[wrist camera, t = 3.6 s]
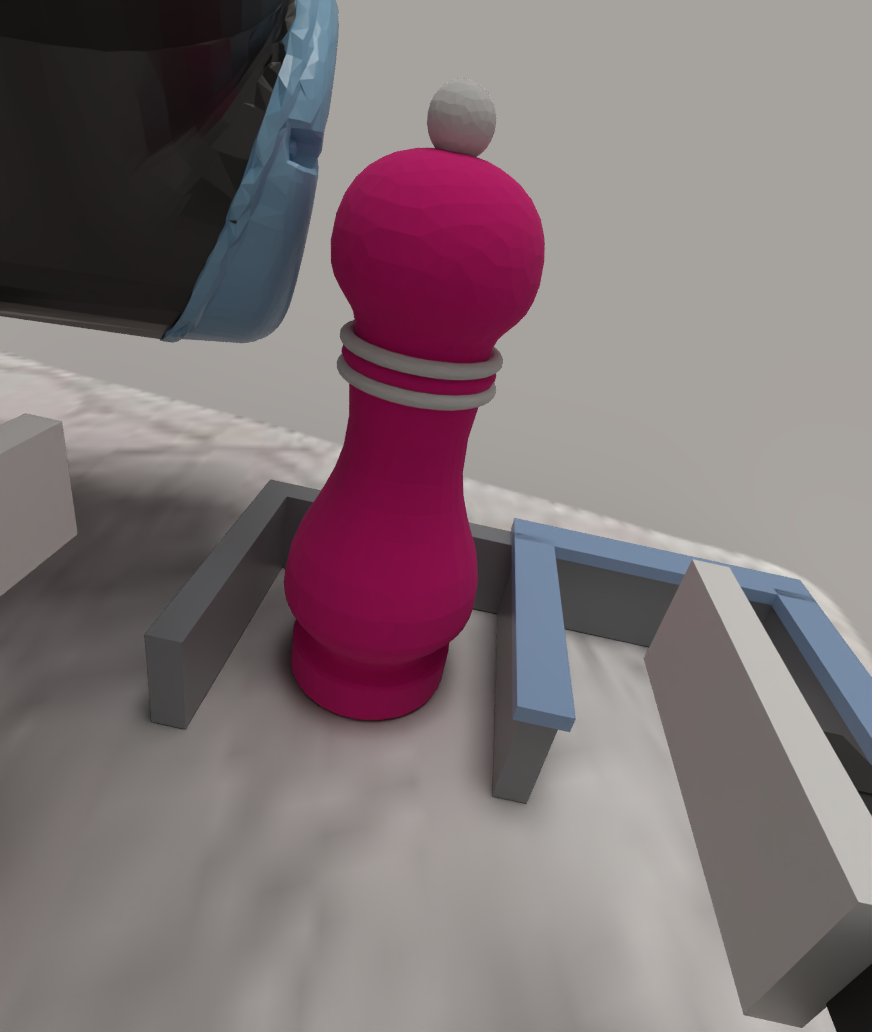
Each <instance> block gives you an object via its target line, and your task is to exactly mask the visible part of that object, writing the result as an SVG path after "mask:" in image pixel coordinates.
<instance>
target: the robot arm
mask: <svg viewBox="0 0 872 1032" xmlns="http://www.w3.org/2000/svg"><path fill="white" fill-rule="evenodd" d="M338 27H339V24H338V6H337V3H336V0H0V316H4V317H10V318H18V319H24V320H32V321H38V322H45V323H52V324H59V325H66V326H73V327H81V328H87V329H94V330H101V331H108V332H114V333H121V334H129V335H136V336H142V337H149V338H156V339H160V340H161V341H166V342H177V341H179V340H181V339H191V340H205V341H219V342H233V343H248V342H253V341H256V340H259V339H262V338H264V337H266V336H268V335H269V334H271V333H272V332H273V331H274V330H275V329H276V328H278V326H279V325H280V324H281V322H282V321H283V319H284V317H285V315H286V313H287V311H288V308H289V306H290V302H291V299H292V296H293V293H294V289H295V285H296V282H297V277H298V274H299V269H300V265H301V261H302V257H303V253H304V248H305V243H306V238H307V234H308V228H309V224H310V219H311V214H312V208H313V202H314V197H315V191H316V185H317V179H318V159H317V158H318V157H319V155H320V153H321V151H322V144H323V137H324V130H325V126H326V122H327V118H328V115H329V108H330V102H331V95H332V87H333V80H334V72H335V64H336V54H337V43H338ZM77 534H78V533H77V526H76V519H75V512H74V504H73V497H72V490H71V483H70V476H69V468H68V461H67V454H66V447H65V439H64V432H63V425H62V421H58V420H53V419H49V418H44V417H39V416H35V415H30V414H26V413H25V414H23V415H21V416H19V417H17V418H15V419H13V420H10V421H8V422H6V423H4V424H2V425H0V596H1V595H3V594H4V593H5V592H6V591H8V590H9V589H10V588H11V587H13V586H14V585H15V584H16V583H18V582H19V581H20V580H21V579H23V578H24V577H25V576H26V575H28V574H29V573H30V572H31V571H33V570H34V569H35V568H36V567H37V566H39V565H40V564H41V563H42V562H44V561H45V560H46V559H47V558H49V557H50V556H51V555H52V554H54V553H55V552H56V551H57V550H59V549H60V548H61V547H62V546H64V545H65V544H66V543H67V542H69V541H70V540H71V539H72V538H74V537H75V536H76V535H77ZM644 661H645V664H646V668H647V672H648V675H649V679H650V682H651V686H652V689H653V693H654V696H655V700H656V704H657V707H658V711H659V714H660V718H661V721H662V725H663V729H664V732H665V736H666V739H667V743H668V746H669V750H670V754H671V757H672V761H673V764H674V768H675V771H676V775H677V778H678V782H679V786H680V789H681V793H682V796H683V800H684V803H685V807H686V811H687V814H688V818H689V821H690V825H691V828H692V832H693V836H694V839H695V843H696V846H697V850H698V853H699V857H700V860H701V864H702V868H703V871H704V875H705V878H706V882H707V885H708V889H709V893H710V896H711V900H712V903H713V907H714V910H715V914H716V918H717V921H718V925H719V928H720V932H721V935H722V939H723V942H724V946H725V950H726V953H727V957H728V960H729V964H730V967H731V971H732V975H733V978H734V982H735V985H736V989H737V992H738V996H739V1000H740V1003H741V1007H742V1010H743V1014H744V1015H746V1016H751V1017H755V1018H760V1019H764V1020H769V1021H773V1022H778V1023H782V1024H787V1025H791V1026H796V1027H800V1028H803V1027H804V1026H805V1025H806V1024H807V1023H808V1022H809V1021H811V1020H812V1019H813V1018H814V1017H815V1016H816V1015H818V1014H819V1013H820V1012H821V1011H822V1010H823V1009H825V1008H826V1007H827V1008H828V1011H829V1013H830V1016H831V1018H832V1021H833V1024H834V1026H835V1029H836V1031H837V1032H872V765H871V764H870V763H869V762H868V761H867V760H866V759H865V758H864V757H863V756H862V755H861V754H860V753H859V752H858V751H857V750H856V749H855V748H854V747H853V746H852V745H851V744H850V743H849V742H848V741H847V740H846V739H845V738H844V737H843V736H842V735H838V734H834V733H829V732H825V731H823V730H822V729H821V727H820V725H819V723H818V722H817V720H816V718H815V716H814V715H813V713H812V711H811V709H810V708H809V706H808V704H807V702H806V701H805V699H804V697H803V695H802V694H801V692H800V690H799V688H798V687H797V685H796V683H795V681H794V680H793V678H792V676H791V674H790V673H789V671H788V669H787V667H786V666H785V664H784V662H783V660H782V659H781V657H780V655H779V653H778V652H777V650H776V648H775V646H774V645H773V643H772V641H771V639H770V638H769V636H768V634H767V632H766V631H765V629H764V627H763V625H762V624H761V622H760V620H759V618H758V617H757V615H756V613H755V611H754V610H753V608H752V606H751V604H750V603H749V601H748V599H747V597H746V596H745V594H744V592H743V590H742V589H741V587H740V585H739V583H738V582H737V580H736V578H735V576H734V575H733V573H732V571H731V569H730V568H729V567H726V566H721V565H717V564H712V563H708V562H703V561H698V560H694V559H692V561H691V563H690V565H689V567H688V569H687V571H686V573H685V575H684V577H683V579H682V581H681V583H680V585H679V587H678V590H677V592H676V594H675V596H674V598H673V600H672V602H671V604H670V606H669V608H668V610H667V612H666V614H665V616H664V618H663V620H662V622H661V624H660V626H659V628H658V630H657V633H656V635H655V637H654V639H653V641H652V643H651V645H650V647H649V649H648V651H647V653H646V655H645V657H644Z"/></svg>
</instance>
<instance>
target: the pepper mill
mask: <svg viewBox="0 0 872 1032" xmlns="http://www.w3.org/2000/svg"><path fill="white" fill-rule="evenodd" d="M495 125H496V114H495V109H494V104H493V102H492V100H491V98H490V96H489V94H488V92H487V91H486V90H485V89H484V88H483V87H482V86H480V85H479V84H478V83H477V82H475V81H471V80H467V79H456V80H452V81H450V82H448V83H446V84H444V85H443V86H442V87H441V88H440V89H439V90H438V92H437V93H436V94H435V95H434V97H433V99H432V101H431V103H430V107H429V111H428V119H427V126H428V133H429V136H430V139H431V141H432V143H433V145H434V147H435V148H415V149H409V150H403V151H397V152H394V153H392V154H389V155H386V156H384V157H382V158H380V159H379V160H377V161H375V162H374V163H372V164H370V165H369V166H367V167H366V168H365V169H364V170H363V171H362V172H361V173H360V174H359V175H358V176H356V178H355V179H354V181H353V182H352V183H351V185H350V186H349V188H348V189H347V191H346V192H345V194H344V196H343V199H342V201H341V203H340V206H339V208H338V211H337V213H336V218H335V222H334V227H333V233H332V237H331V264H332V268H333V272H334V276H335V278H336V280H337V282H338V284H339V286H340V288H341V290H342V291H343V293H344V295H345V297H346V298H347V300H348V302H349V304H350V305H351V307H352V310H353V313H354V318H355V320H353V321H350V322H348V323H346V324H345V325H344V326H343V327H342V328H341V331H340V339H341V341H342V343H343V347H342V354H341V355H340V356H339V358H338V360H337V369H338V371H339V374H340V375H341V376H342V377H343V378H344V379H345V380H346V381H347V382H348V383H349V419H348V425H347V431H346V436H345V441H344V446H343V448H342V451H341V453H340V456H339V458H338V461H337V463H336V466H335V468H334V470H333V472H332V473H331V475H330V477H329V478H328V480H327V482H326V484H325V485H324V487H323V489H322V490H321V492H320V493H319V495H318V496H317V498H316V499H315V501H314V502H313V504H312V505H311V506H310V508H309V509H308V511H307V512H306V514H305V515H304V517H303V519H302V521H301V523H300V525H299V527H298V530H297V532H296V534H295V536H294V538H293V540H292V543H291V547H290V551H289V555H288V560H287V565H286V570H285V576H284V588H285V595H286V598H287V602H288V605H289V607H290V609H291V611H292V613H293V615H294V616H295V618H296V620H295V624H294V631H293V641H292V652H291V665H292V671H293V673H294V676H295V679H296V681H297V682H298V684H299V686H300V687H301V688H302V689H303V691H304V692H305V693H306V694H307V696H309V697H310V698H311V699H312V700H314V701H315V702H316V703H317V704H319V705H320V706H321V707H323V708H325V709H328V710H330V711H332V712H334V713H336V714H338V715H340V716H345V717H350V718H354V719H359V720H384V719H389V718H394V717H400V716H403V715H406V714H408V713H410V712H412V711H413V710H415V709H417V708H419V707H421V706H422V705H424V704H425V703H426V702H427V701H428V700H429V699H430V698H431V696H432V695H433V694H434V692H435V691H436V690H437V688H438V686H439V683H440V681H441V678H442V674H443V670H444V666H445V662H446V658H447V654H448V649H449V642H451V641H452V640H453V639H454V638H455V637H456V636H457V635H458V634H459V633H460V632H461V631H462V630H463V628H464V627H465V625H466V623H467V621H468V620H469V618H470V615H471V612H472V609H473V607H474V601H475V595H476V589H477V583H478V571H477V556H476V549H475V545H474V541H473V537H472V533H471V530H470V526H469V522H468V518H467V513H466V507H465V502H464V496H463V468H464V462H465V455H466V449H467V442H468V437H469V434H470V431H471V428H472V425H473V422H474V419H475V416H476V413H477V410H478V407H480V406H482V405H485V404H486V403H488V402H489V401H491V400H492V399H493V397H494V396H495V393H496V386H495V383H494V381H495V378H496V373H497V372H498V371H499V370H500V369H501V368H502V364H503V359H502V356H501V354H500V352H499V351H498V350H497V349H496V348H495V347H494V345H495V343H496V342H497V340H498V339H499V338H500V337H501V336H502V335H503V334H505V333H506V332H507V331H508V330H510V329H511V328H512V327H514V326H515V325H516V324H517V323H518V322H519V321H520V320H521V319H522V318H523V317H524V316H525V315H526V314H527V312H528V310H529V309H530V307H531V305H532V303H533V302H534V299H535V297H536V294H537V291H538V289H539V286H540V281H541V276H542V269H543V265H544V245H545V243H544V234H543V229H542V224H541V219H540V217H539V215H538V213H537V210H536V208H535V206H534V204H533V202H532V199H531V198H530V197H529V196H528V194H527V193H526V192H525V190H524V189H523V188H522V187H521V185H520V184H519V183H517V182H516V181H515V180H514V179H513V178H512V177H511V176H509V175H508V174H506V173H505V172H504V171H503V170H501V169H500V168H498V167H496V166H495V165H493V164H491V163H489V162H488V161H485V160H482V159H480V158H477V156H478V155H480V154H481V153H482V152H483V151H484V150H485V149H486V148H487V146H488V145H489V143H490V142H491V139H492V137H493V134H494V131H495Z"/></svg>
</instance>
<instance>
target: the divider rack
mask: <svg viewBox="0 0 872 1032" xmlns="http://www.w3.org/2000/svg"><path fill="white" fill-rule="evenodd" d="M320 492H321V490H316V489H312V488H307V487H302V486H298V485H293V484H289V483H284V482H279V481H275V480H270V481H269V482H268V483H267V484H266V486H265V487H264V488H263V489H262V490H261V492H260V493H259V494H258V495H257V497H256V498H255V499H254V500H253V502H252V503H251V504H250V505H249V506H248V508H247V509H246V510H245V511H244V513H243V514H242V515H241V516H240V517H239V519H238V520H237V521H236V522H235V524H234V525H233V526H232V527H231V529H230V530H229V531H228V532H227V533H226V535H225V536H224V537H223V538H222V540H221V541H220V542H219V543H218V545H217V546H216V547H215V548H214V549H213V551H212V552H211V553H210V554H209V556H208V557H207V558H206V559H205V561H204V562H203V563H202V564H201V565H200V567H199V568H198V569H197V570H196V572H195V573H194V574H193V575H192V576H191V578H190V579H189V580H188V581H187V583H186V584H185V585H184V586H183V588H182V589H181V590H180V591H179V592H178V594H177V595H176V596H175V597H174V599H173V600H172V601H171V602H170V604H169V605H168V606H167V607H166V608H165V610H164V611H163V612H162V613H161V615H160V616H159V617H158V618H157V619H156V621H155V622H154V623H153V624H152V626H151V627H150V628H149V629H148V631H147V632H146V633H145V634H144V636H145V648H146V661H147V673H148V686H149V698H150V711H151V722H155V723H160V724H164V725H169V726H173V727H178V728H183V729H186V727H187V726H188V724H189V722H190V721H191V719H192V717H193V716H194V714H195V712H196V710H197V709H198V707H199V705H200V704H201V702H202V700H203V699H204V697H205V695H206V694H207V692H208V690H209V689H210V687H211V685H212V684H213V682H214V680H215V679H216V677H217V675H218V674H219V672H220V670H221V669H222V667H223V665H224V664H225V662H226V660H227V659H228V657H229V655H230V653H231V652H232V650H233V648H234V647H235V645H236V643H237V642H238V640H239V638H240V637H241V635H242V633H243V632H244V630H245V628H246V627H247V625H248V623H249V622H250V620H251V618H252V617H253V615H254V613H255V612H256V610H257V608H258V607H259V605H260V603H261V601H262V600H263V598H264V596H265V595H266V593H267V591H268V590H269V588H270V586H271V585H272V583H273V581H274V580H275V578H276V576H277V575H278V573H279V571H280V570H281V568H282V567H284V568H286V565H287V560H288V555H289V551H290V547H291V543H292V540H293V538H294V536H295V534H296V532H297V530H298V527H299V525H300V523H301V521H302V519H303V517H304V515H305V514H306V512H307V511H308V509H309V508H310V506H311V505H312V504H313V502H314V501H315V499H316V498H317V496H318V495H319V493H320ZM469 526H470V530H471V533H472V537H473V541H474V545H475V549H476V556H477V571H478V583H477V589H476V595H475V601H474V607H473V609H477V610H482V611H487V612H491V613H496V614H497V646H496V682H495V718H494V753H493V789H492V796H494V797H499V798H503V799H508V800H512V801H517V802H521V803H527V801H528V799H529V796H530V794H531V792H532V789H533V787H534V785H535V782H536V780H537V778H538V775H539V773H540V770H541V768H542V766H543V763H544V761H545V759H546V756H547V754H548V752H549V749H550V747H551V744H552V742H553V740H554V737H555V735H556V733H557V730H562V731H567V732H570V731H571V728H572V726H573V724H574V721H575V719H576V718H575V710H574V701H573V693H572V685H571V677H570V669H569V661H568V653H567V645H566V637H565V629H569V630H574V631H578V632H583V633H588V634H592V635H597V636H601V637H606V638H611V639H615V640H620V641H624V642H629V643H634V644H638V645H643V646H647V647H650V645H651V643H652V641H653V639H654V637H655V635H656V633H657V630H658V628H659V626H660V624H661V622H662V620H663V618H664V616H665V614H666V612H667V610H668V608H669V606H670V604H671V602H672V600H673V598H674V596H675V594H676V592H677V590H678V587H679V585H680V583H681V581H682V579H683V577H684V575H685V573H686V571H687V569H688V567H689V565H690V563H691V561H692V559H694V560H698V561H703V562H708V563H712V564H717V565H721V566H726V567H729V568H730V569H731V571H732V573H733V575H734V576H735V578H736V580H737V582H738V583H739V585H740V587H741V589H742V590H743V592H744V594H745V596H746V597H747V599H748V601H749V603H750V604H751V606H752V608H753V610H754V611H755V613H756V615H757V617H758V618H759V620H760V622H761V624H762V625H763V627H764V629H765V631H766V632H767V634H768V636H769V638H770V639H771V641H772V643H773V645H774V646H775V648H776V650H777V652H778V653H779V655H780V657H781V659H782V660H783V662H784V664H785V666H786V667H787V669H788V671H789V673H790V674H791V676H792V678H793V680H794V681H795V683H796V685H797V687H798V688H799V690H800V692H801V694H802V695H803V697H804V699H805V701H806V702H807V704H808V706H809V708H810V709H811V711H812V713H813V715H814V716H815V718H816V720H817V722H818V723H819V725H820V727H821V729H822V730H823V731H825V732H829V733H834V734H838V735H842V736H843V737H844V738H845V739H846V740H847V741H848V742H849V743H850V744H851V745H852V746H853V747H854V748H855V749H856V750H857V751H858V752H859V753H860V754H861V755H862V756H863V757H864V758H865V759H866V760H867V761H868V762H869V763H870V764H871V765H872V677H871V676H870V674H869V673H868V672H867V670H866V669H865V668H864V666H863V665H862V664H861V662H860V661H859V659H858V658H857V657H856V655H855V654H854V653H853V651H852V650H851V649H850V647H849V646H848V645H847V643H846V642H845V640H844V639H843V638H842V636H841V635H840V634H839V632H838V631H837V630H836V628H835V627H834V626H833V624H832V623H831V622H830V620H829V619H828V617H827V616H826V615H825V613H824V612H823V611H822V609H821V608H820V607H819V605H818V604H817V603H816V601H815V600H814V598H813V597H812V596H811V594H810V593H809V592H808V590H807V589H806V588H805V586H804V585H803V584H802V582H801V581H800V580H798V579H793V578H788V577H784V576H779V575H775V574H770V573H765V572H761V571H756V570H752V569H747V568H742V567H738V566H733V565H729V564H724V563H719V562H715V561H710V560H706V559H701V558H696V557H692V556H687V555H683V554H678V553H673V552H669V551H664V550H659V549H655V548H650V547H646V546H641V545H636V544H632V543H627V542H623V541H618V540H613V539H609V538H604V537H600V536H595V535H590V534H586V533H581V532H577V531H572V530H567V529H563V528H558V527H553V526H549V525H544V524H540V523H535V522H530V521H526V520H521V519H517V518H514V522H513V525H512V528H511V532H510V531H505V530H501V529H496V528H491V527H487V526H482V525H478V524H473V523H469ZM564 628H565V629H564Z"/></svg>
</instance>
